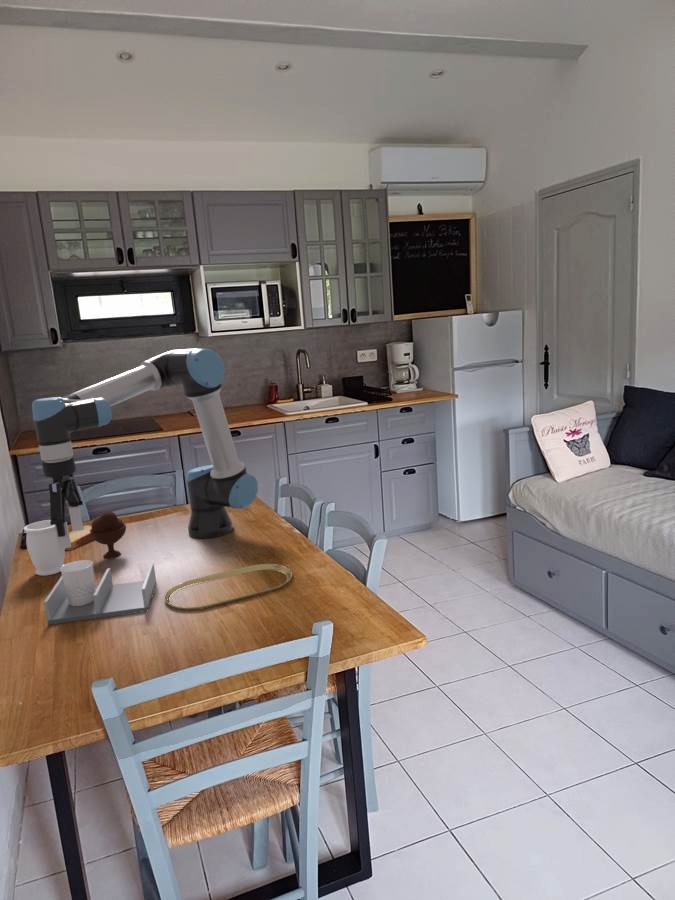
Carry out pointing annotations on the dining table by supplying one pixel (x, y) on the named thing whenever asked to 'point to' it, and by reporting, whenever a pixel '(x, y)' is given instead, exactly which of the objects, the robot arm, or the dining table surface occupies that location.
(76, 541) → the slice of bread
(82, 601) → the white cup
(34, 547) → the jar
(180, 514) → the dining table surface
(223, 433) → the robot arm
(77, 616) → the dish rack
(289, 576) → the brass oval ring
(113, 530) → the ice cream bowl
